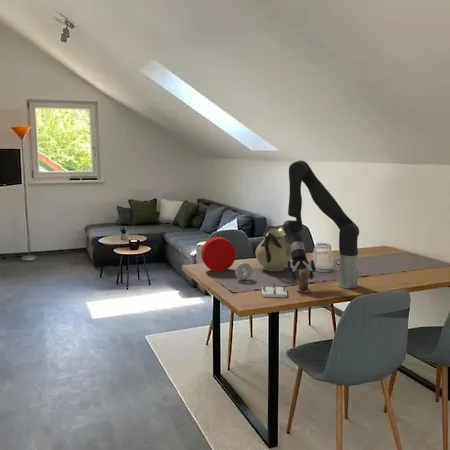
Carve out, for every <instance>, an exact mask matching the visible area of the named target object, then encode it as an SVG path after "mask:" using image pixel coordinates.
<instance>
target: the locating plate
mask: <svg viewBox="0 0 450 450" xmlns="http://www.w3.org/2000/svg"><path fill="white" fill-rule="evenodd" d="M261 295H262V298H287V297H288V292H287V288H286V286H276V284H275V283H272V286H264V285H263V286H261Z"/></svg>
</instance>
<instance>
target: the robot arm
mask: <svg viewBox="0 0 450 450" xmlns="http://www.w3.org/2000/svg"><path fill="white" fill-rule="evenodd" d="M288 179H289V196H288V197H289V198H288V209H287V215H288V216H289V217H291V218H294V219H293V220H289V219H288V220H285V221H284V222H283V225H282V227H283V229H284V232H285V234H286V235H285V236H286V237H287V239H288V244H289V245H290V251H291V256H292V259H291V261H288V262H287V266H286V269H287V273H288V274H291V276H292V279H293V280H294V281H296V280H297V275H296V270H298V271H299V270H301V269H306V270H308V276H309V280H311V281H312V280H313V279H314V273H315V272H316V268H317V267H316V265H315V262H314V260H313V259H312V260H309V261H308V259H307V254H306V248H305V245H304V240H303V237H302V235H301V232H302V231H303V229H304V228H303V226H304V225H303V220H302V207H303V206H302V205H303V198H302V183H303V184H304V185H305V187H307V190H308V193H309V194H310V197H311V199H312V201H313V203H314V204H315V205H316V207H318V209H319V210H320V211H321V212H322V213H323V214H324V215H326V216H327V217H328V218H329V219H331V220H332V221H333V223H334V224H335V225H336V226H337V227H338V229H339V233H338V250H339V256H338V257H339V259H338V261H339V263H338V287H339V288H342V289H357V288H359V287H358V283H359V269H358V260H359V259H358V256H359V250H358V241H359V239H358V237H359V235H360V229H359V228H360V227H358V225H357V224H356V223H355V222H354V221H353V220H352V219H351V218H350V217H349V216H348V215H347V214H346V212H344V210H343V209H342V207H341V206H340V204H339V203H338V202H337V200H336V199H335V198H334V196H333V195H332V194H331V193H330V191H328V189H327V188H326V186H325V185H323V183H322V182H321V181H320V180H319V178H318V177H317V176H316V175H315V173H314V172H313V170H312V168H311V166H310V165H309V164H308V163H307V162H306V161H304V160H297V161H293V162H292V163H291V164H290V165H289V167H288ZM291 266H293V269H292V268H291Z"/></svg>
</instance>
